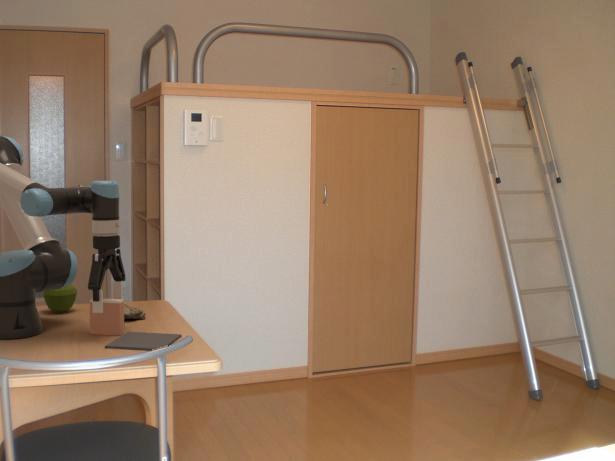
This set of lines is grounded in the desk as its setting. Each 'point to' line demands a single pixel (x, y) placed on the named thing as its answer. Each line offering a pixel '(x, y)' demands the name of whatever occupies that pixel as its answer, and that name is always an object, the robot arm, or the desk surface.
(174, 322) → the desk surface
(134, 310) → the rock
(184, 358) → the desk surface
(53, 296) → the apple
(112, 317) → the slab
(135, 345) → the mat
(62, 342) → the desk surface
